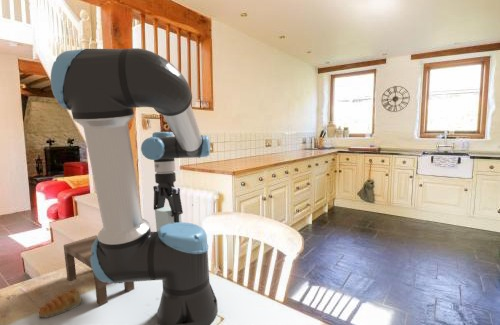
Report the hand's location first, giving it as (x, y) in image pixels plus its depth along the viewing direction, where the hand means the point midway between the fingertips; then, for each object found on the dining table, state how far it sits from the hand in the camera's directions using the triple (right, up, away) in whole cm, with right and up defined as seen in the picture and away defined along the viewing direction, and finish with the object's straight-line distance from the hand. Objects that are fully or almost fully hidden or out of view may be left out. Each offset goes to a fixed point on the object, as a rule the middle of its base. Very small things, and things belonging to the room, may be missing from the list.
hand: (168, 229), depth 106 cm
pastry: (-20, -14, -31) cm, 39 cm away
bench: (-16, -12, -20) cm, 28 cm away
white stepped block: (-5, -7, -6) cm, 10 cm away
